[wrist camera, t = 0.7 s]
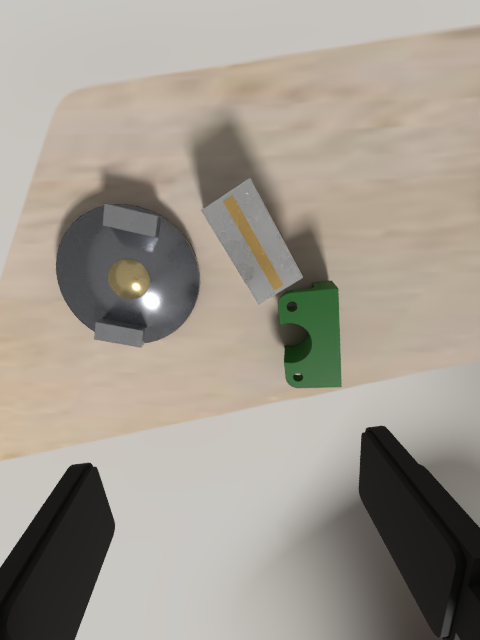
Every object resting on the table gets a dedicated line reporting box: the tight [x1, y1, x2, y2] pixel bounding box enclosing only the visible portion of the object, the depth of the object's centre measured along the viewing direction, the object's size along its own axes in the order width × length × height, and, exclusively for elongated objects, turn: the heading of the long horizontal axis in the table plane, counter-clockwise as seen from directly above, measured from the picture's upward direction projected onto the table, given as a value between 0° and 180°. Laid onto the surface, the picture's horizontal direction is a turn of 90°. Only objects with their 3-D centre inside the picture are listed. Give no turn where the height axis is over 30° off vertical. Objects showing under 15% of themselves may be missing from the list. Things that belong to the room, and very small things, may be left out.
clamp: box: [278, 281, 342, 388], centre depth 30 cm, size 12×6×9 cm, turn 2°
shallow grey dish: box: [56, 204, 200, 347], centre depth 28 cm, size 15×15×3 cm
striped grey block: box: [201, 178, 303, 304], centre depth 27 cm, size 5×10×6 cm, turn 31°
